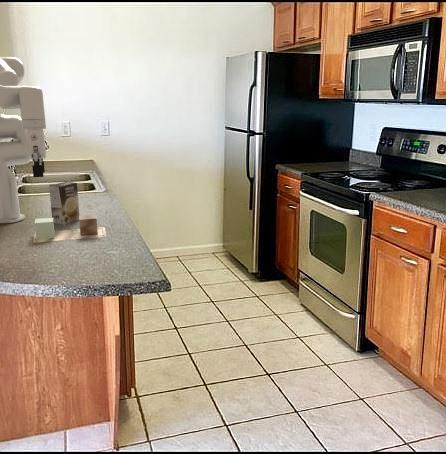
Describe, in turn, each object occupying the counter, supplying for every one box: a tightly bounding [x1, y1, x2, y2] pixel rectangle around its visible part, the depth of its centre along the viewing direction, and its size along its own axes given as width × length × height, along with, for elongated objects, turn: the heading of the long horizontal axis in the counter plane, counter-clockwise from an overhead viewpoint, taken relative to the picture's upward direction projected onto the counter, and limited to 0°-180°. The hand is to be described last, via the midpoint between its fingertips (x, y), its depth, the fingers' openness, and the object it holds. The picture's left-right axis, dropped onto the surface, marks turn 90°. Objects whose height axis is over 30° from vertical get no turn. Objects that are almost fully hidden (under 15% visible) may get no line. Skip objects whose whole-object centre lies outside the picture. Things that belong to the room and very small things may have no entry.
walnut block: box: [78, 214, 98, 236], centre depth 182 cm, size 6×6×6 cm
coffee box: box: [48, 181, 81, 225], centre depth 198 cm, size 9×6×16 cm
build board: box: [32, 226, 107, 244], centre depth 181 cm, size 25×13×1 cm, turn 107°
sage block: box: [34, 217, 56, 240], centre depth 178 cm, size 6×6×6 cm
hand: (39, 174), depth 173 cm, fingers open, 9 cm apart
